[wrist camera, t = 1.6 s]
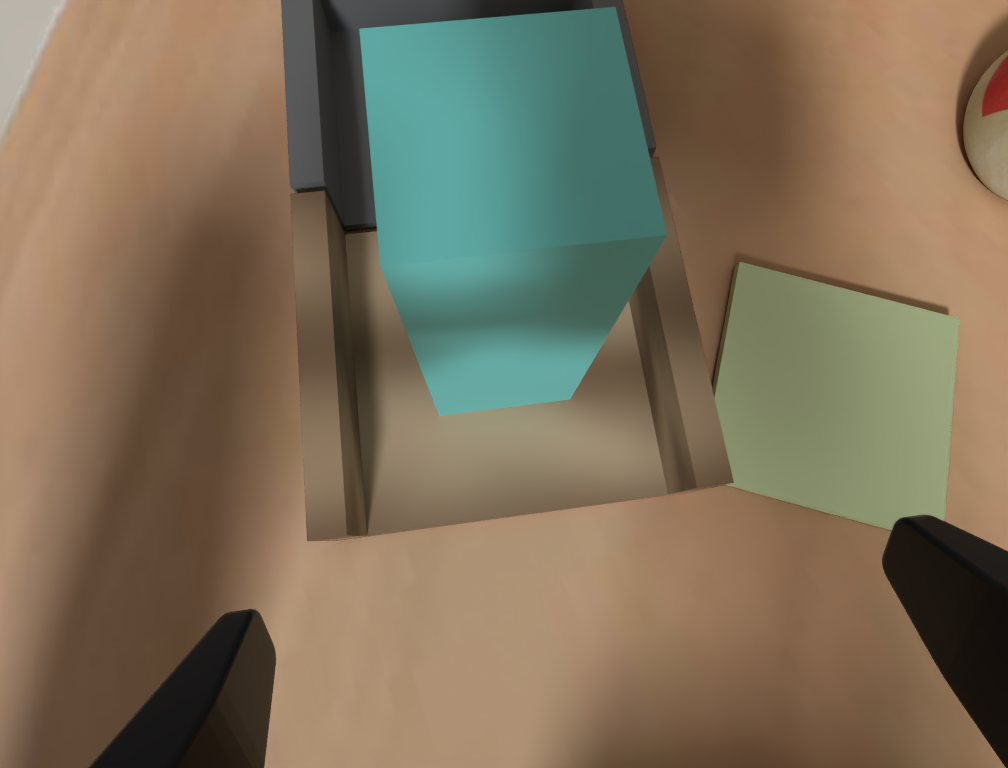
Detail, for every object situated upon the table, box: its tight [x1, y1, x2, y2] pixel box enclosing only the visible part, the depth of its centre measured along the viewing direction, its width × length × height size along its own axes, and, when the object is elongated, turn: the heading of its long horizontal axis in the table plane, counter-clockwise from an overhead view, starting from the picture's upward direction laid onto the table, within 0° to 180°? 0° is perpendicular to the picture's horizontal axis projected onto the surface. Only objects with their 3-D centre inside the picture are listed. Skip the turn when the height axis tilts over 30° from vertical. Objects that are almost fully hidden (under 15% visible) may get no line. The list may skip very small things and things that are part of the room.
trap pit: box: [281, 0, 656, 231], centre depth 24 cm, size 11×13×4 cm
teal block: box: [359, 7, 667, 416], centre depth 17 cm, size 5×5×12 cm
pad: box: [712, 262, 959, 531], centre depth 23 cm, size 9×9×1 cm
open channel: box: [291, 157, 734, 541], centre depth 21 cm, size 12×13×4 cm
